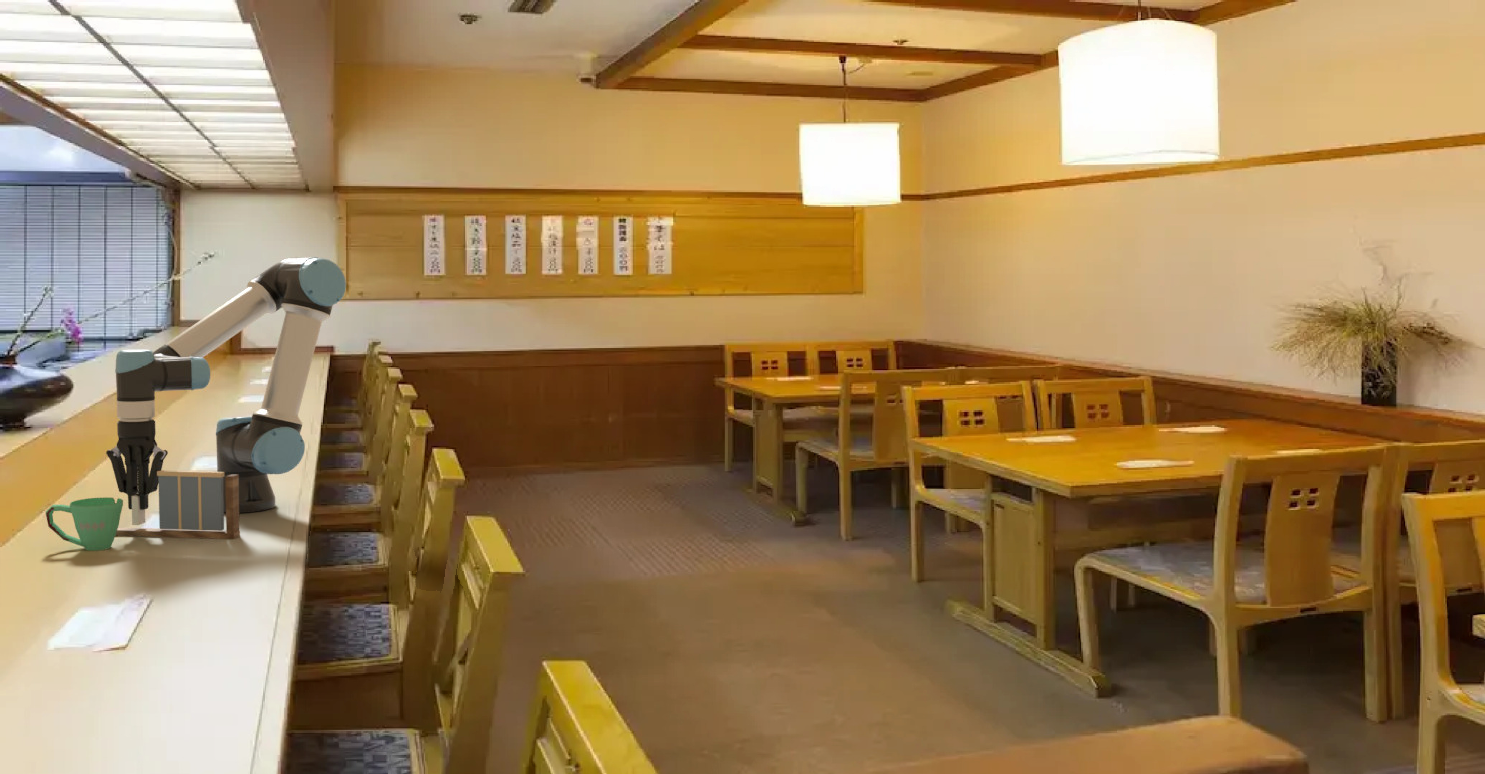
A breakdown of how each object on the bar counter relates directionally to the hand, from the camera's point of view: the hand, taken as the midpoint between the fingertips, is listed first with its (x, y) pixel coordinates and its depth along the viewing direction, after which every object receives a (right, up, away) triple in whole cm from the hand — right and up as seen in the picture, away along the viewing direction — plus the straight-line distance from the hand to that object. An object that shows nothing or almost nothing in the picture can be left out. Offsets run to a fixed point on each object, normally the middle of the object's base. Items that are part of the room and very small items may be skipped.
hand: (138, 523), depth 260 cm
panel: (+12, -1, -1) cm, 12 cm away
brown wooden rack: (+7, -3, 0) cm, 7 cm away
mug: (-4, -4, -14) cm, 15 cm away
